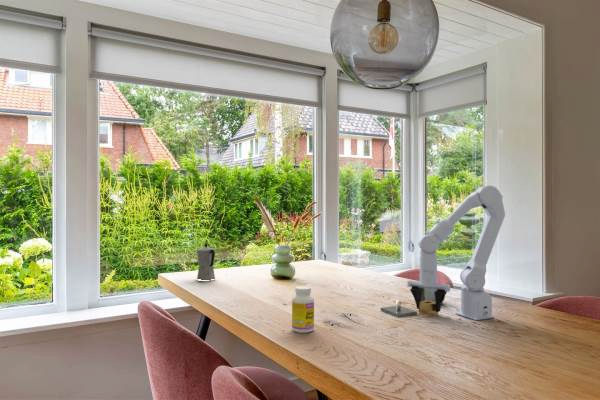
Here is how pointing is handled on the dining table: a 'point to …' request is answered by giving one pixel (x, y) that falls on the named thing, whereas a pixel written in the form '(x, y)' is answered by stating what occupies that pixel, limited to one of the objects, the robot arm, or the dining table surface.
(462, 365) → the dining table surface
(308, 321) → the supplement bottle
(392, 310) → the flat gray rectangular block
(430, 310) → the wooden block with hole
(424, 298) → the ceramic mug
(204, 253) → the coffeepot
